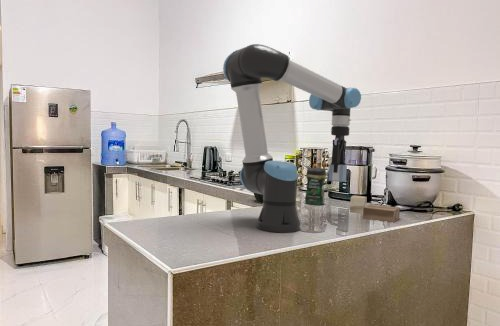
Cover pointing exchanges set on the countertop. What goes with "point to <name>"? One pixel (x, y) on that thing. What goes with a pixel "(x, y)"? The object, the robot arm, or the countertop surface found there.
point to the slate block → (341, 173)
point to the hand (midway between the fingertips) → (337, 179)
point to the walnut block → (381, 213)
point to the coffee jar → (315, 186)
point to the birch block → (357, 204)
